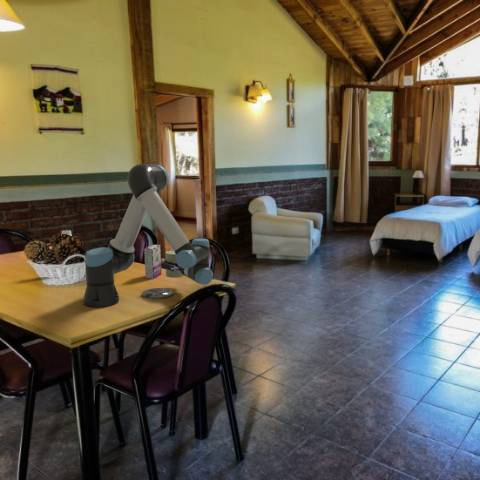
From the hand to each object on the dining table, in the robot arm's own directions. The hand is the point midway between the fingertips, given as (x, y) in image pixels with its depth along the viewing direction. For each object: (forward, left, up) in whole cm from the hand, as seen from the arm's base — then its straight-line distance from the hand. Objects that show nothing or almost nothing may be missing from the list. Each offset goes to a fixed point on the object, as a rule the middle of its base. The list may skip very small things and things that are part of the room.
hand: (171, 260), depth 232 cm
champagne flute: (-29, +59, -13) cm, 67 cm away
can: (-1, -4, -7) cm, 8 cm away
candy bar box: (+3, +23, -13) cm, 26 cm away
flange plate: (-14, -9, -13) cm, 21 cm away
